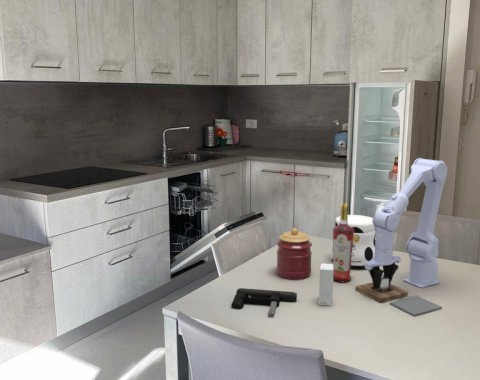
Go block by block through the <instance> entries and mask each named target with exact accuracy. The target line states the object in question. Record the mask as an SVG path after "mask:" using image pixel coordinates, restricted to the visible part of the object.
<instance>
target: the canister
mask: <svg viewBox="0 0 480 380" xmlns="http://www.w3.org/2000/svg"><path fill="white" fill-rule="evenodd" d="M278 239H279V240H278V241H277V242H276V246H277V250H276V274H277V275H278V276H279V277H280V278H283V279H288V280H303V279H306V278H309V277H310V276H311V273H312V255H313V254H312V252H313V251H312V250H311V247H312V245H313V243H312V242H311V241H310V239H311V238H310V236H309V235H307V234H306V233H305V232H303V231H299V229H298V228H296V227H294V228H291V231H290V230H289V231H285V232H284V233H282V234H280V235H279V236H278Z"/></svg>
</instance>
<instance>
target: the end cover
mask: <svg viewBox="0 0 480 380" xmlns="http://www.w3.org/2000/svg"><path fill="white" fill-rule="evenodd" d="M388 288H389V277H388V276H385V275H384V274H382V277H381V282H380V288H378V289H377V288H375V290H376V291H378V292H380V293H384V292H388Z"/></svg>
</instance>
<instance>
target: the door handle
mask: <svg viewBox="0 0 480 380" xmlns="http://www.w3.org/2000/svg"><path fill="white" fill-rule="evenodd" d="M283 301H284V302H297V301H298V293H297V292H295V291H284V290H271V289H269V290H268V289H259V288H258V289H257V288H245V287H243V288H241V287H239V288H238V289H237V290H236V292H235V296H234V298H233V300H232V302H231V305H230V307H231V308H233V309H235V310H240V309H241V310H242V309H243V308H244V305H250V306H251V305H253V306H264V307H269V310H268V313H267V317H268V318H273V319H274V318H275V314H276V310H277V308H278V307H280V303H281V302H283Z"/></svg>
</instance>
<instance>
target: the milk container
mask: <svg viewBox="0 0 480 380" xmlns="http://www.w3.org/2000/svg"><path fill="white" fill-rule="evenodd" d="M340 216H341V215H339V216H337V217H336V218H335V225H334V227H336V226H338V225H339V224H340ZM347 217H348V226H350V227H352V228H353V229H354V236H353V247H352V256H351V268H362V267H363V268H365V263H366V262H369V261H371V260H372V259H373V257H375V239H376V232H375V231H374V230H375V227H374V225H373V222H372V219H373V218H374V217H371V216H367V215H361V214H347ZM331 248H332V249H331V254H332V256H333V246H332V247H331Z"/></svg>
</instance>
